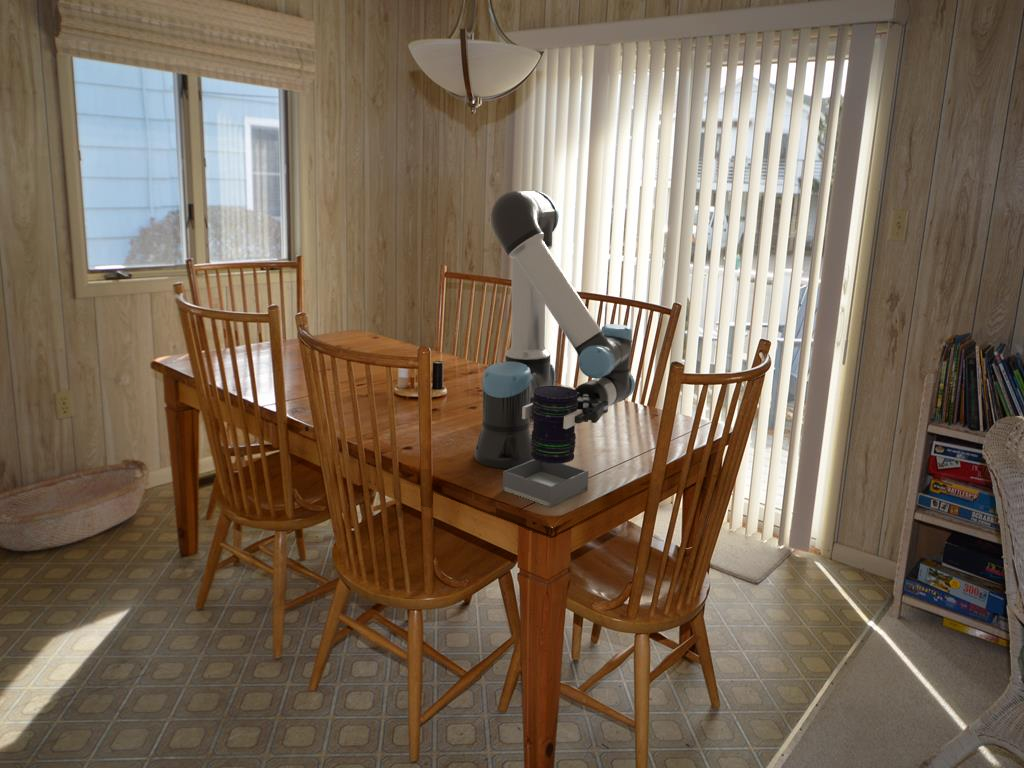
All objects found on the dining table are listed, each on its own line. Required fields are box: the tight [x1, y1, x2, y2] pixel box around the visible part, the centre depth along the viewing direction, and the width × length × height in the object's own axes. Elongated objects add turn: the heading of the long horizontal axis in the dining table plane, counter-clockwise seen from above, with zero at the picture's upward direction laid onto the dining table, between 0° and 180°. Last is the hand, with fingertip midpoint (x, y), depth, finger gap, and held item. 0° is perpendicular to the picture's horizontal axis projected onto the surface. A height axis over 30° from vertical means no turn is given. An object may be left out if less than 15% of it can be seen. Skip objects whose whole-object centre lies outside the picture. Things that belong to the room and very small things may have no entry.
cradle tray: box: [502, 459, 589, 508], centre depth 175 cm, size 14×14×4 cm
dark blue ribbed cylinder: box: [530, 385, 578, 464], centre depth 172 cm, size 10×10×15 cm
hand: (544, 417), depth 168 cm, fingers closed on dark blue ribbed cylinder, 10 cm apart
